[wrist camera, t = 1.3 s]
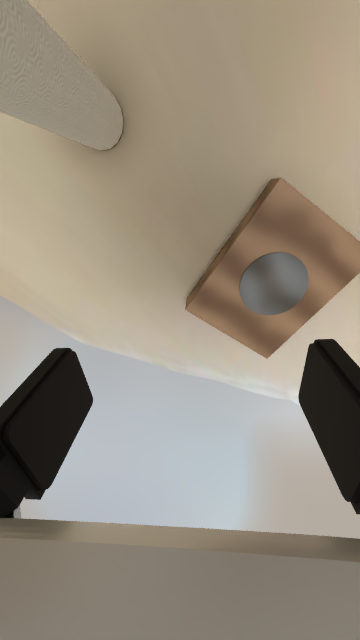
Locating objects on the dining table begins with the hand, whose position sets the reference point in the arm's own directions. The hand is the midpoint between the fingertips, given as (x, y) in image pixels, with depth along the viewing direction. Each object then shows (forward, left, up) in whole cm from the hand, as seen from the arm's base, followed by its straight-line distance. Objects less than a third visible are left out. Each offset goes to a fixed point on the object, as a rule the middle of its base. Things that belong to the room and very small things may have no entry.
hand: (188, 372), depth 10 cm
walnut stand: (-1, +12, -28) cm, 30 cm away
